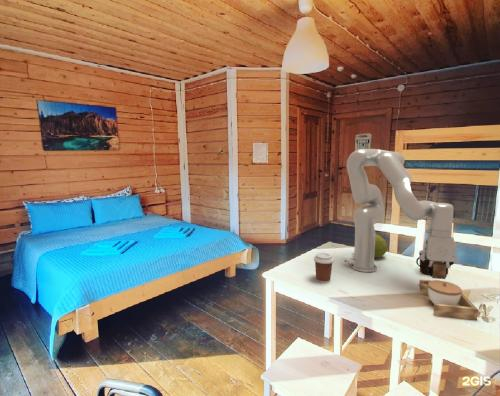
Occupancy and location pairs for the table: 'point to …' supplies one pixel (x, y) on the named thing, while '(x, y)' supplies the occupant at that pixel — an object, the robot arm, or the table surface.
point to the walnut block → (439, 270)
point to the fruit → (380, 246)
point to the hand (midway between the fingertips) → (437, 275)
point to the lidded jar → (444, 292)
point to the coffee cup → (323, 267)
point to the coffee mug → (422, 264)
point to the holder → (451, 306)
